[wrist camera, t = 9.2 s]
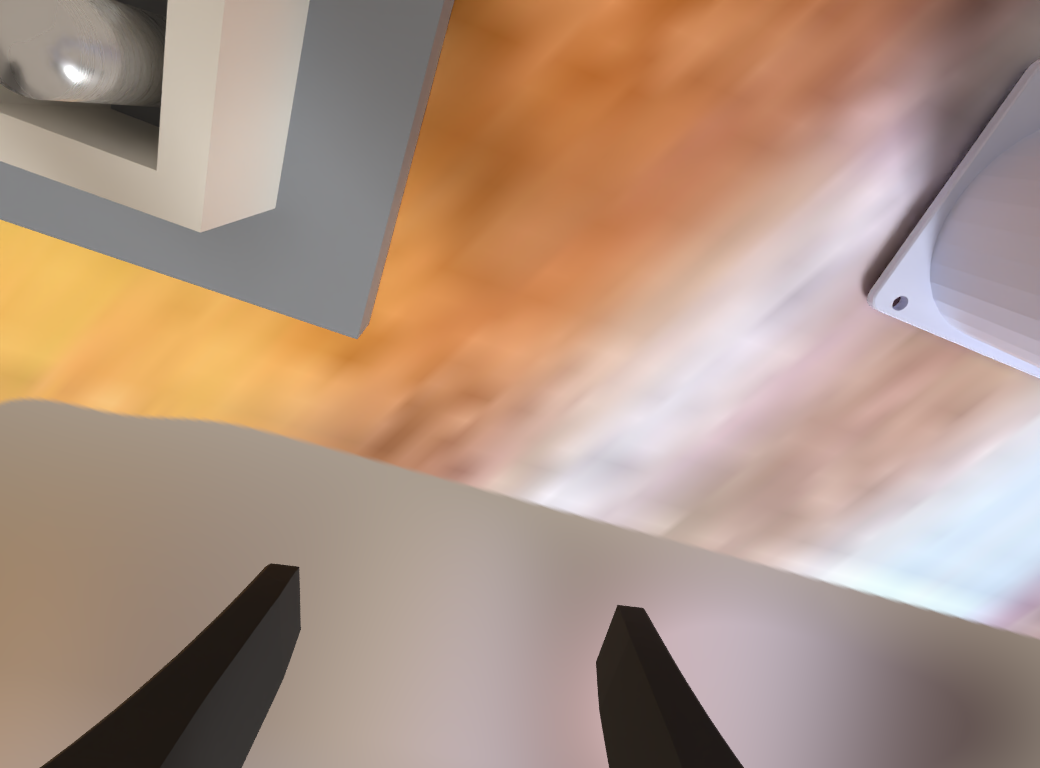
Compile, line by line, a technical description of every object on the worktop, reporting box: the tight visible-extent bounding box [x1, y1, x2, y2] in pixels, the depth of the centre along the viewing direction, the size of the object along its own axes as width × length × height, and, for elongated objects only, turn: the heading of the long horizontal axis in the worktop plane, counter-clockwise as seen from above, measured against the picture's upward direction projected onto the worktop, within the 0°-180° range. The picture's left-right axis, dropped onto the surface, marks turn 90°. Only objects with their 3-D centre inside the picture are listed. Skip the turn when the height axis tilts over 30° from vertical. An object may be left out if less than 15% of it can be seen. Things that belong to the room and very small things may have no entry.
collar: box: [0, 0, 310, 233], centre depth 12 cm, size 6×6×4 cm
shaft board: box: [0, 0, 454, 339], centre depth 12 cm, size 14×12×6 cm
